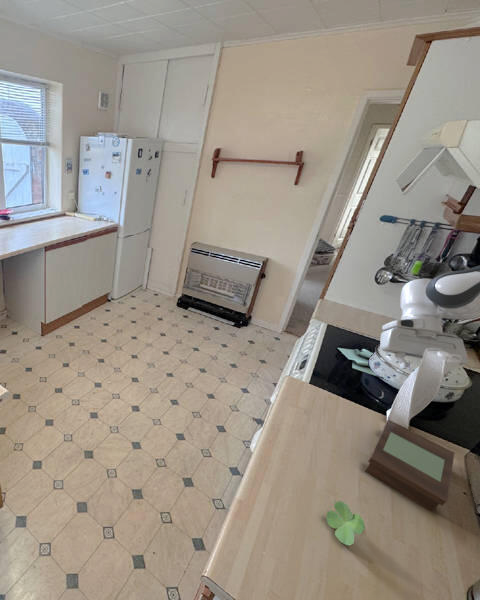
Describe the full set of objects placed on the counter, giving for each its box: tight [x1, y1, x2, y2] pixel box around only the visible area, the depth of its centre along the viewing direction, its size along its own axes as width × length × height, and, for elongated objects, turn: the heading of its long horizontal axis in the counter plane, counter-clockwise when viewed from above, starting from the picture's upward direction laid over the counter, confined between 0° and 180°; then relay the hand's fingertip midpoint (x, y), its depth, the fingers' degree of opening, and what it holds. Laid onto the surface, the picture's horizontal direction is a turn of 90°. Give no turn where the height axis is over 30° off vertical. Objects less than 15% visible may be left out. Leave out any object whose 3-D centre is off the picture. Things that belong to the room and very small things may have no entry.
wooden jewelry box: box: [364, 420, 455, 512], centre depth 86 cm, size 22×14×5 cm, turn 129°
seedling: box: [326, 500, 366, 546], centre depth 71 cm, size 7×8×7 cm
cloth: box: [337, 347, 379, 378], centre depth 130 cm, size 20×22×2 cm
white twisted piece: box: [385, 348, 462, 430], centre depth 96 cm, size 8×8×28 cm
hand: (423, 372), depth 96 cm, fingers open, 8 cm apart
